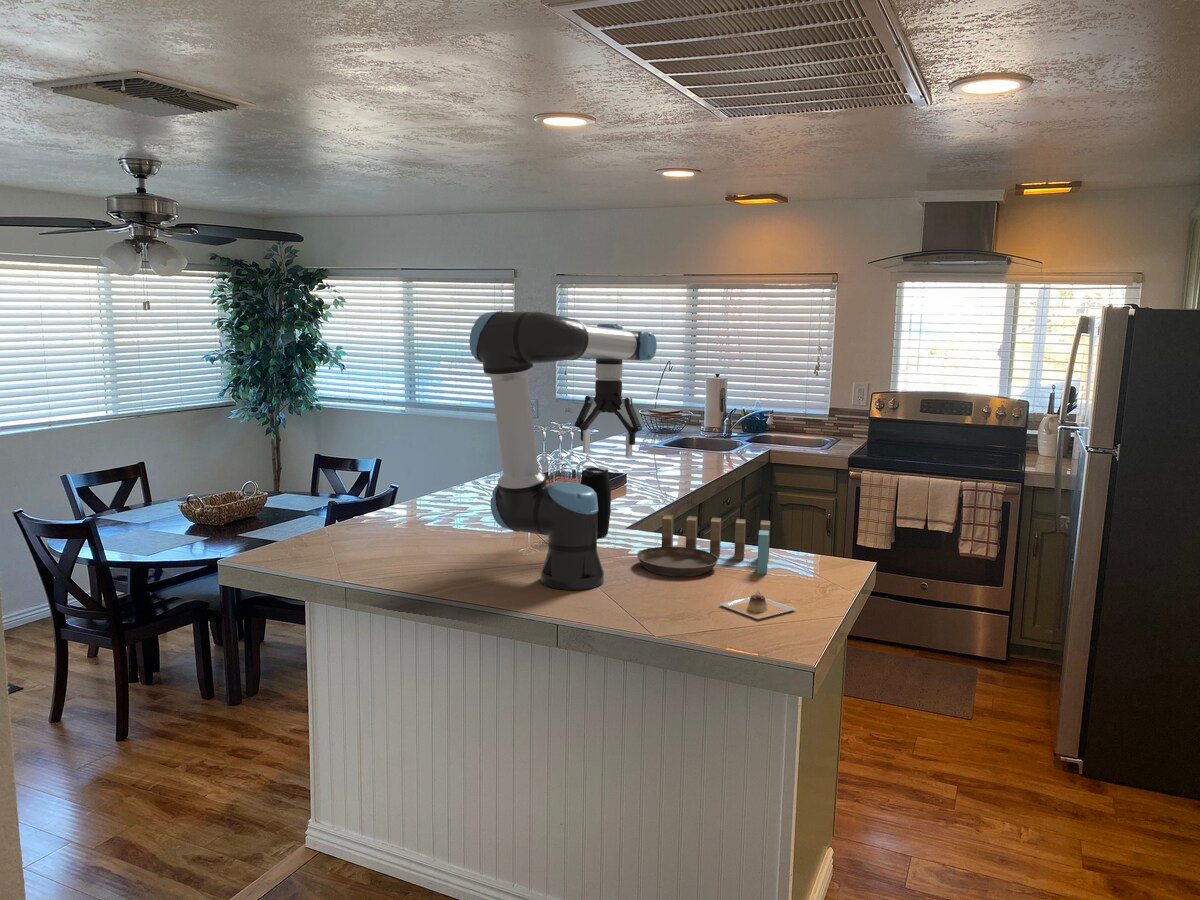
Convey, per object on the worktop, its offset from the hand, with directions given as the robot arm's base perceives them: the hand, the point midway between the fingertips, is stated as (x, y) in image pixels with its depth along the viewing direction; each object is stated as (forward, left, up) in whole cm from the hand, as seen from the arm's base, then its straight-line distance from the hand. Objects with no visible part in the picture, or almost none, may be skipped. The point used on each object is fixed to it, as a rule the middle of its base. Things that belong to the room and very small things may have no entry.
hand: (607, 454), depth 251 cm
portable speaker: (+5, +5, -25) cm, 26 cm away
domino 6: (-22, -45, -25) cm, 56 cm away
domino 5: (-10, -45, -25) cm, 52 cm away
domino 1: (-10, -19, -25) cm, 33 cm away
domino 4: (-10, -38, -25) cm, 47 cm away
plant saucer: (-24, -23, -25) cm, 42 cm away
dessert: (-53, -45, -26) cm, 74 cm away
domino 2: (-10, -25, -25) cm, 37 cm away
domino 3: (-10, -32, -25) cm, 42 cm away
